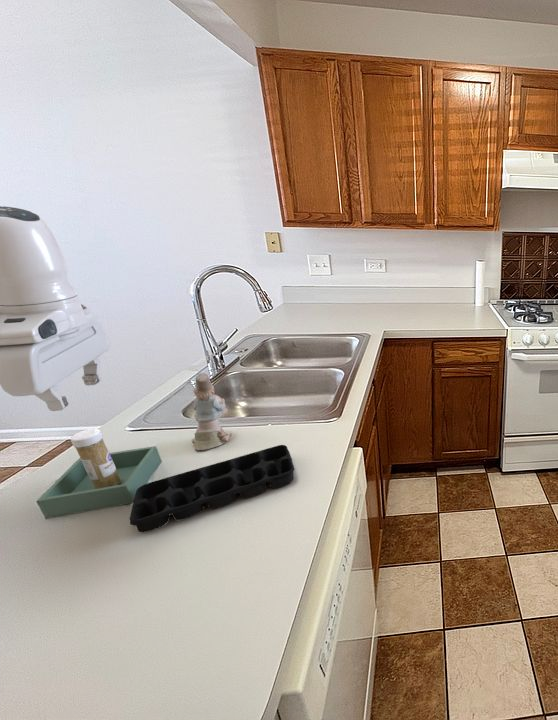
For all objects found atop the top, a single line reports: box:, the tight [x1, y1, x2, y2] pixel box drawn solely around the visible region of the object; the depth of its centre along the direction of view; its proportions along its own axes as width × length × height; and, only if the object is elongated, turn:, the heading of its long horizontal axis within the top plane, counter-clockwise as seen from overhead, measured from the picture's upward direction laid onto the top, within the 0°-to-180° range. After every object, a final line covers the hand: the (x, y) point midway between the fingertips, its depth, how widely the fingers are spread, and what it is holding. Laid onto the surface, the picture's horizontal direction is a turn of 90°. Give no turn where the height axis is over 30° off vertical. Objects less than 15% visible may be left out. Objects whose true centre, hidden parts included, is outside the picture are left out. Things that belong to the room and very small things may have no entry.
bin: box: [36, 445, 162, 519], centre depth 86 cm, size 15×15×4 cm
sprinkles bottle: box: [70, 428, 122, 489], centre depth 84 cm, size 5×5×14 cm
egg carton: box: [129, 444, 296, 534], centre depth 85 cm, size 18×30×4 cm, turn 135°
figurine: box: [191, 372, 230, 451], centre depth 99 cm, size 9×8×20 cm
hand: (77, 395), depth 67 cm, fingers open, 8 cm apart
